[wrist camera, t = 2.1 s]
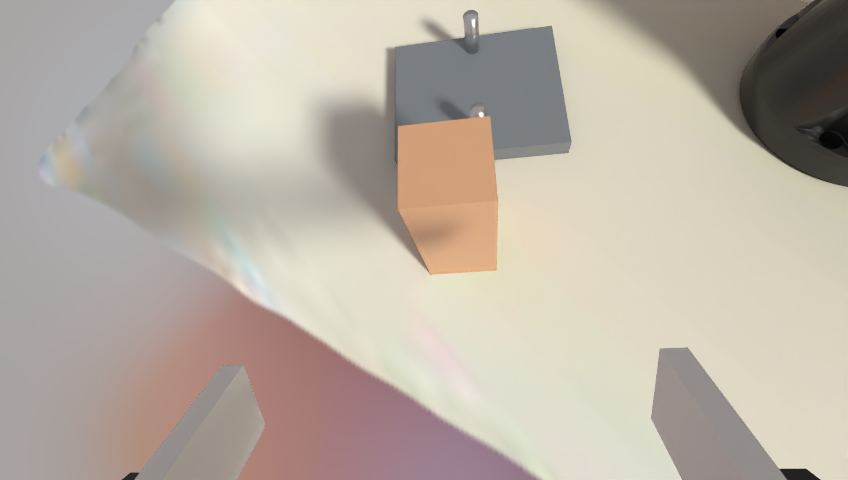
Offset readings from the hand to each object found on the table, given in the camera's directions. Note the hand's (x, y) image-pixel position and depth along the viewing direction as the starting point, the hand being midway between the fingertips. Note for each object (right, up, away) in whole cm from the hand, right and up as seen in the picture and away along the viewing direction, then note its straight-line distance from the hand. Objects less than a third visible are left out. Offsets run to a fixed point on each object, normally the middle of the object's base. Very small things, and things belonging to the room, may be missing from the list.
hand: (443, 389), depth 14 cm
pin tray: (+4, +17, +24) cm, 29 cm away
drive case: (+2, +5, +19) cm, 20 cm away
